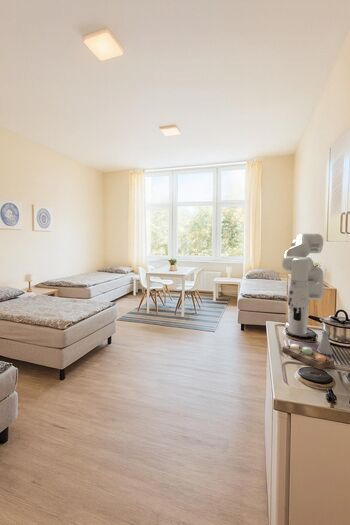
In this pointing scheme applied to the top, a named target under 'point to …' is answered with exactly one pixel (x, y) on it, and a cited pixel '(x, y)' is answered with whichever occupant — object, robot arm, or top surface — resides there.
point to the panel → (308, 357)
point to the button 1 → (294, 346)
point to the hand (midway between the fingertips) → (297, 320)
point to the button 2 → (307, 351)
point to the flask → (325, 344)
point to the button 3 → (320, 358)
